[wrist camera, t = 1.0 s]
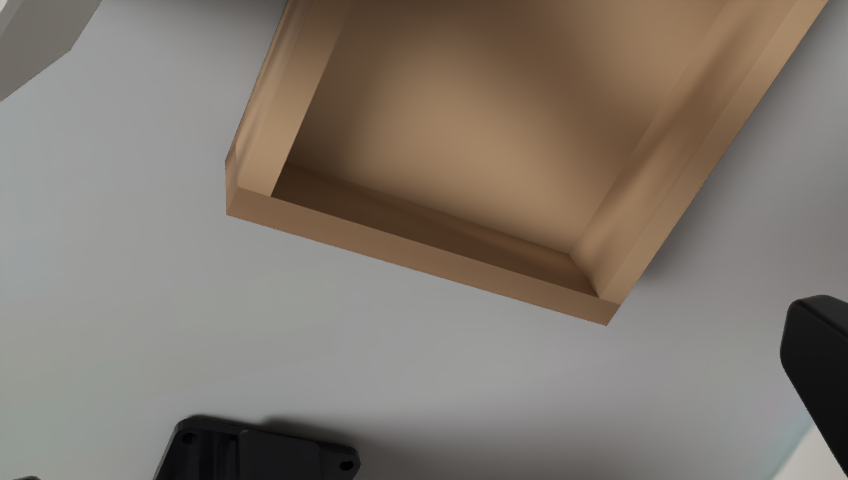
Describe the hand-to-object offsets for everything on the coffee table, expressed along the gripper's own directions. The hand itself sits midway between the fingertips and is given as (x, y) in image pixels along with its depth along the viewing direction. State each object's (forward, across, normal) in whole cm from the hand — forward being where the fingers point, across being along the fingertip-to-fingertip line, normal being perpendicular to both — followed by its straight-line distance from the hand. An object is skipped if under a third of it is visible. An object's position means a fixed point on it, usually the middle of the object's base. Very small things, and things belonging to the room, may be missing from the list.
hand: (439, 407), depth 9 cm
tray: (+13, -5, +1) cm, 14 cm away
